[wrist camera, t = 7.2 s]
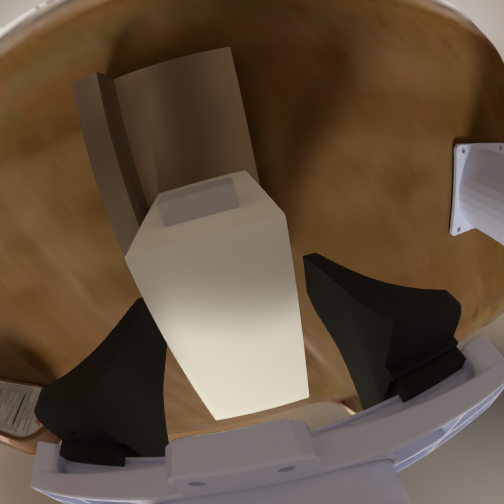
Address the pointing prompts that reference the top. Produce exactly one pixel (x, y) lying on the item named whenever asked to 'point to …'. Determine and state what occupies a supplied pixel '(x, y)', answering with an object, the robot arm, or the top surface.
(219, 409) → the cabinet block
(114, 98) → the ledge board
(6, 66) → the top surface
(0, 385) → the tin
